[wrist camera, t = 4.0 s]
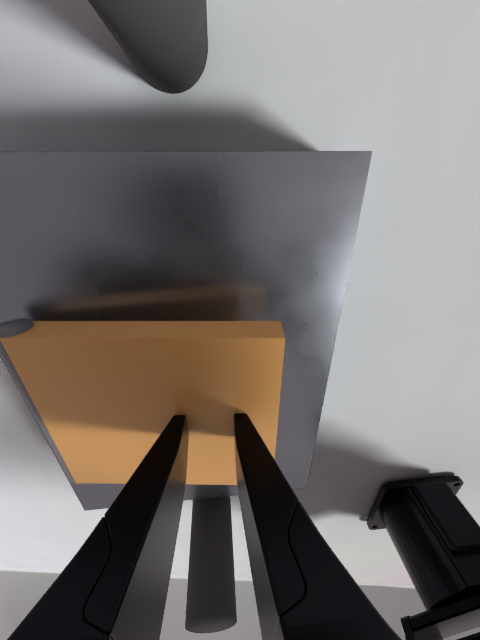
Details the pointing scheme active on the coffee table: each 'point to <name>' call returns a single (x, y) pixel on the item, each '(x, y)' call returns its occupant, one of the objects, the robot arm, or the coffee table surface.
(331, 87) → the coffee table surface
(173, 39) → the post
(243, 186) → the grey flat block
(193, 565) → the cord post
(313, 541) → the robot arm
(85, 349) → the orange flat block
